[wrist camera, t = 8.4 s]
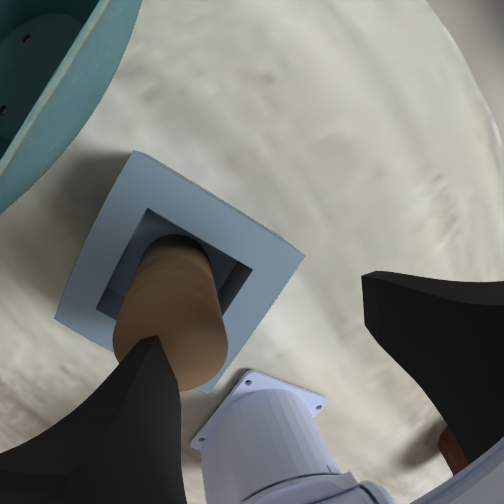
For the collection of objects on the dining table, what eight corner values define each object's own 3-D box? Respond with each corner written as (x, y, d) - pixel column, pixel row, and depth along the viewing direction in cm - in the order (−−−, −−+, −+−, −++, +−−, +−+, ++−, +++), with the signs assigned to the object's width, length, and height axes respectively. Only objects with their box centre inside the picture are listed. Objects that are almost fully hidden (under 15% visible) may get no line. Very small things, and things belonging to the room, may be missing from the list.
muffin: (497, 392, 33) (536, 426, 23) (458, 447, 35) (491, 483, 25) (461, 396, 30) (509, 440, 20) (416, 458, 32) (451, 504, 22)
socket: (203, 357, 21) (207, 394, 17) (75, 291, 18) (53, 318, 14) (282, 238, 20) (305, 255, 16) (145, 153, 17) (133, 150, 13)
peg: (217, 291, 19) (239, 378, 11) (152, 307, 18) (137, 399, 10) (201, 226, 17) (212, 282, 10) (132, 243, 17) (94, 310, 9)
